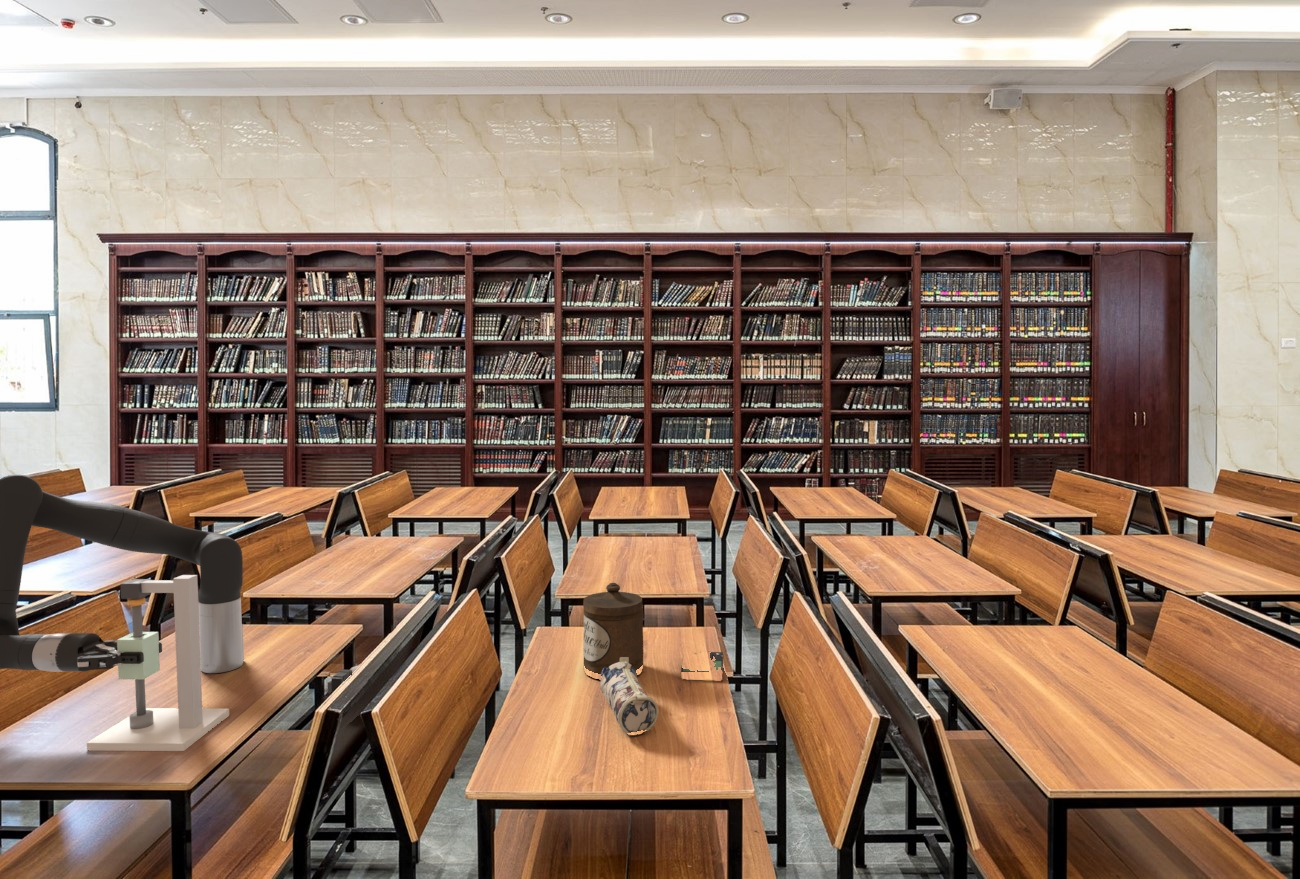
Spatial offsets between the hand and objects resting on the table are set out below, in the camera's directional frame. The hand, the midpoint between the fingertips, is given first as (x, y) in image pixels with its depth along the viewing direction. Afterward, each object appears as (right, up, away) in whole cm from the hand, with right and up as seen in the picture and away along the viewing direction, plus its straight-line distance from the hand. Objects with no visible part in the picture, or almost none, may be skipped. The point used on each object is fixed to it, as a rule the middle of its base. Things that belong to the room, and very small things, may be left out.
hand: (151, 652), depth 155 cm
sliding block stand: (+1, -16, +1) cm, 16 cm away
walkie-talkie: (+33, -15, +28) cm, 46 cm away
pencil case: (+96, -17, +9) cm, 98 cm away
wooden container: (+91, -15, +36) cm, 99 cm away
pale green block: (-3, -4, 0) cm, 5 cm away
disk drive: (+113, -15, +37) cm, 120 cm away
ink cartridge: (+33, -16, +13) cm, 39 cm away
